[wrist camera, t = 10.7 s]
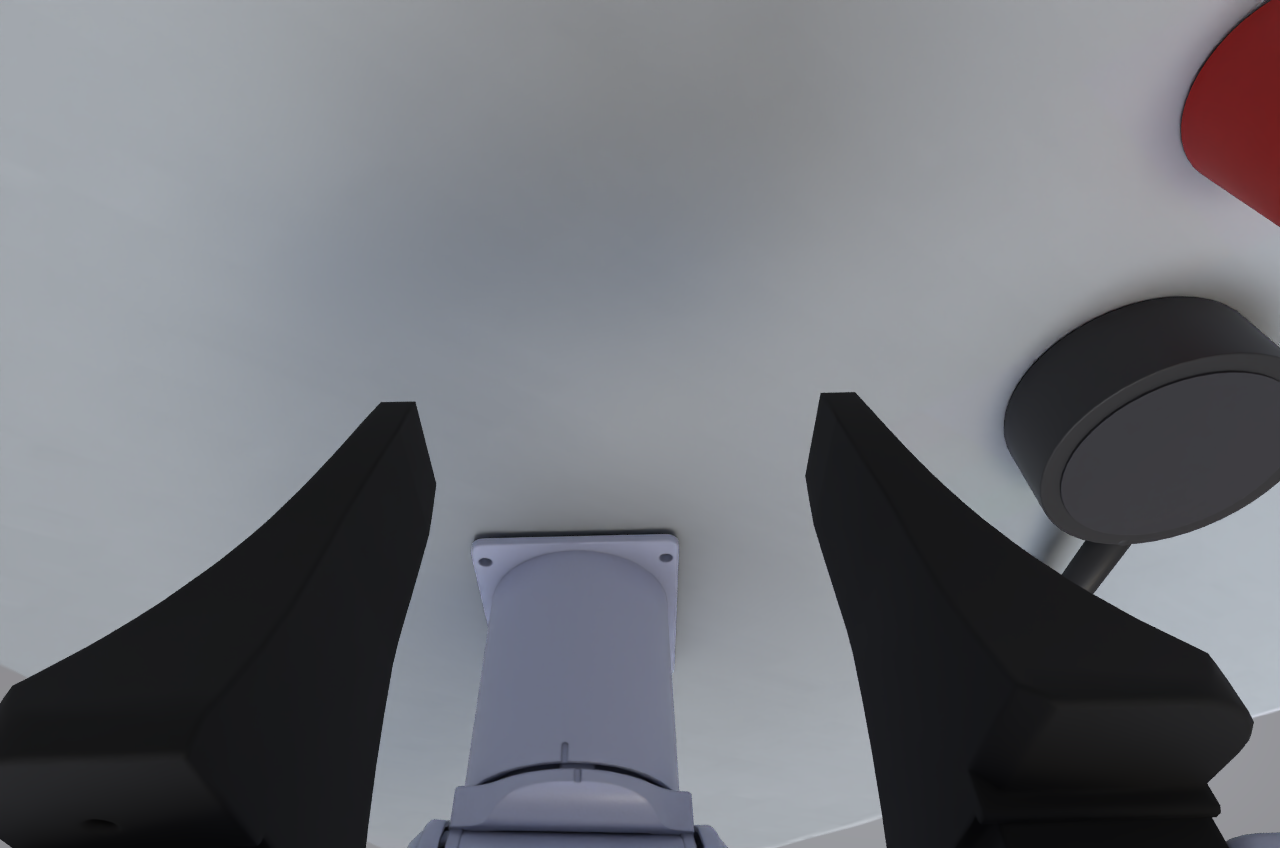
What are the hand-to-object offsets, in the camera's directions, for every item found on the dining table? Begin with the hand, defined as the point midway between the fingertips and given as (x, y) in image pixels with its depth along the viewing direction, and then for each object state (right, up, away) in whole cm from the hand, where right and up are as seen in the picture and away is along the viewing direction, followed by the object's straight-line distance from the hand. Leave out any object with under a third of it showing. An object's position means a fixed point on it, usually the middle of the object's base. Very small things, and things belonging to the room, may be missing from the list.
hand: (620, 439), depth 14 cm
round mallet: (+17, -6, +18) cm, 25 cm away
